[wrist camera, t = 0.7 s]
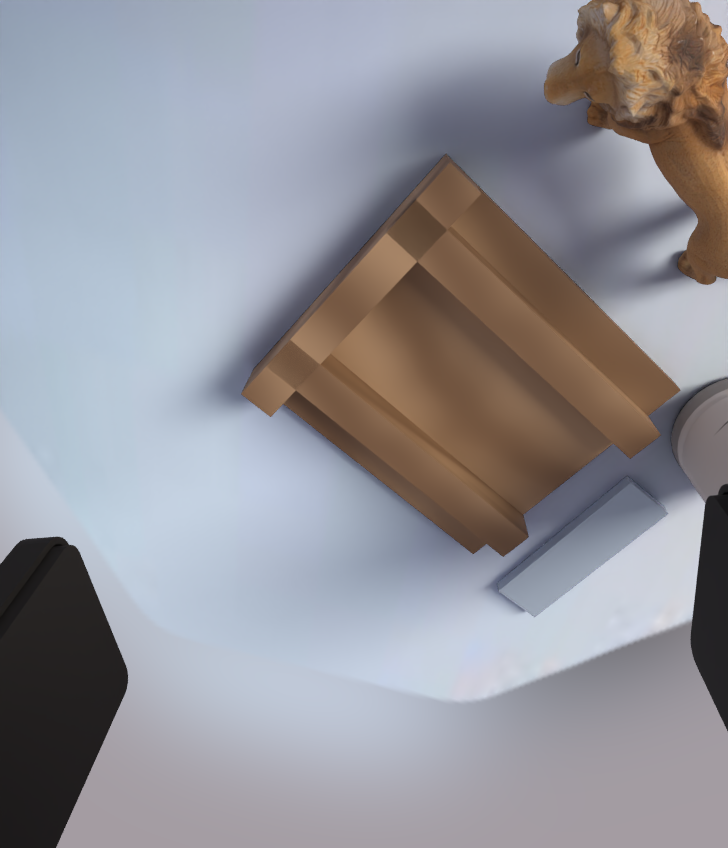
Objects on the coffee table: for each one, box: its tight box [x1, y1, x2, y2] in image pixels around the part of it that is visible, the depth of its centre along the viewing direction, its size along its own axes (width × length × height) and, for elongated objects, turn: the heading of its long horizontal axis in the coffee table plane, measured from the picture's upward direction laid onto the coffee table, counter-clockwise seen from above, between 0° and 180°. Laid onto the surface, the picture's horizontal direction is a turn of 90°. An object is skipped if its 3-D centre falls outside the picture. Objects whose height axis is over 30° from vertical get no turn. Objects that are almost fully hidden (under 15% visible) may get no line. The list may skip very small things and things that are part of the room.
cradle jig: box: [241, 154, 680, 557], centre depth 34 cm, size 14×16×3 cm
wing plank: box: [497, 476, 668, 617], centre depth 39 cm, size 10×3×1 cm, turn 141°
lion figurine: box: [544, 0, 728, 285], centre depth 26 cm, size 15×5×9 cm, turn 47°
